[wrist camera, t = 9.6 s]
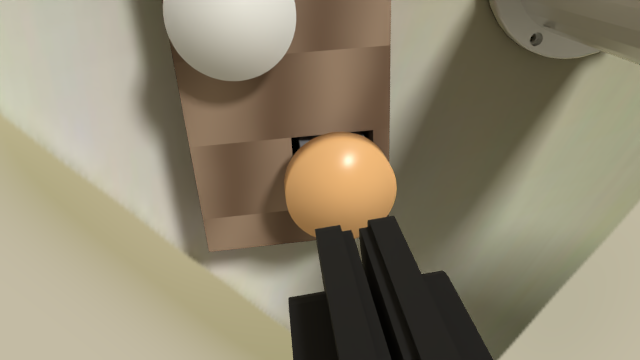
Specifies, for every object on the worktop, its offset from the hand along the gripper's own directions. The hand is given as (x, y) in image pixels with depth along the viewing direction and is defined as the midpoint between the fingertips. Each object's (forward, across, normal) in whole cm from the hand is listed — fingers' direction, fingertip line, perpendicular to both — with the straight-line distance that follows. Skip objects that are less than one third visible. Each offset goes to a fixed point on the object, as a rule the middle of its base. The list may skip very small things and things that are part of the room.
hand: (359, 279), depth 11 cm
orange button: (+23, -1, +7) cm, 24 cm away
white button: (+24, +3, -3) cm, 24 cm away
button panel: (+25, +1, +2) cm, 25 cm away
